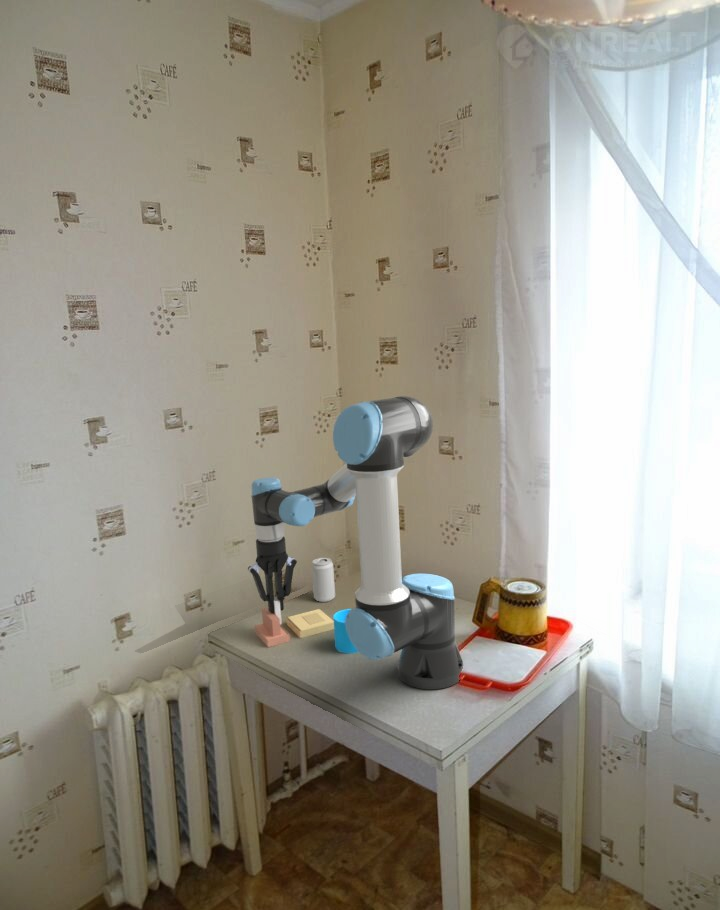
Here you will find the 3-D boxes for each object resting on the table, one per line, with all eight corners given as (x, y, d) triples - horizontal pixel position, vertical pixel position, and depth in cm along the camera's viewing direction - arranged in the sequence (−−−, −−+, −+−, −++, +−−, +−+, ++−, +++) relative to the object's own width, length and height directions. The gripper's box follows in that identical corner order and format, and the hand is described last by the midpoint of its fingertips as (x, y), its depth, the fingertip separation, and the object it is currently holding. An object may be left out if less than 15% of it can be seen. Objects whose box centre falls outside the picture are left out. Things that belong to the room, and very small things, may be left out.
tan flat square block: (334, 628, 181) (334, 621, 180) (300, 638, 176) (299, 630, 176) (319, 615, 190) (319, 608, 189) (286, 624, 185) (286, 617, 185)
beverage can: (339, 596, 202) (337, 558, 200) (327, 604, 197) (324, 565, 194) (322, 593, 205) (319, 555, 203) (309, 600, 200) (306, 562, 198)
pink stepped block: (289, 641, 175) (288, 617, 174) (268, 647, 173) (265, 623, 171) (276, 626, 184) (274, 604, 183) (255, 632, 181) (253, 609, 180)
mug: (370, 650, 168) (368, 620, 166) (338, 655, 166) (336, 624, 165) (360, 630, 180) (359, 601, 178) (330, 634, 178) (328, 605, 176)
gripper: (288, 529, 180) (295, 611, 185) (241, 538, 174) (249, 623, 179) (299, 536, 173) (305, 622, 178) (250, 546, 168) (258, 634, 172)
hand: (277, 622), depth 178 cm, fingers closed
